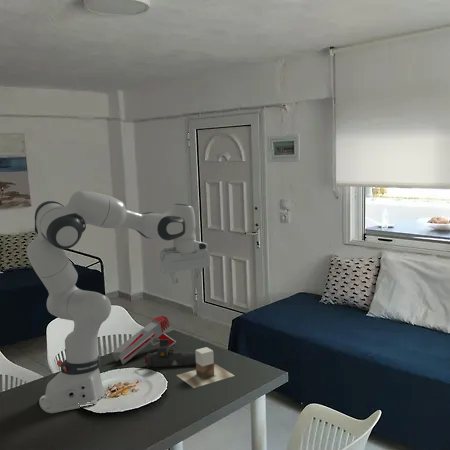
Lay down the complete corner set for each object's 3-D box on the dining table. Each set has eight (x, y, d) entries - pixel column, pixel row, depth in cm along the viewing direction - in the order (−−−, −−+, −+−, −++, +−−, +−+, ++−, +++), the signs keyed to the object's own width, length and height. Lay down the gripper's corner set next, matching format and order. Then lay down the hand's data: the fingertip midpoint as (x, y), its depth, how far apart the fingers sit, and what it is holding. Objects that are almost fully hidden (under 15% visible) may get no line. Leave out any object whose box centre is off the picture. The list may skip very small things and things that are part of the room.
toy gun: (123, 378, 222) (110, 350, 216) (170, 339, 238) (159, 312, 233) (132, 383, 217) (119, 355, 211) (179, 343, 233) (168, 316, 228)
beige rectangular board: (194, 390, 188) (193, 387, 188) (176, 377, 199) (176, 375, 199) (235, 378, 197) (234, 375, 197) (215, 366, 209) (215, 364, 209)
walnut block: (203, 379, 195) (202, 366, 194) (196, 374, 199) (196, 362, 198) (214, 375, 198) (213, 363, 197) (207, 371, 202) (207, 359, 201)
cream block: (202, 366, 194) (201, 353, 194) (195, 362, 198) (195, 349, 198) (213, 363, 197) (213, 350, 196) (207, 359, 201) (206, 347, 200)
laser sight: (200, 370, 206) (199, 346, 205) (144, 372, 206) (142, 348, 204) (201, 361, 216) (200, 338, 214) (147, 363, 215) (146, 340, 214)
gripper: (163, 250, 188) (165, 287, 190) (211, 243, 199) (212, 279, 201) (156, 248, 193) (158, 284, 195) (203, 242, 204) (204, 276, 206)
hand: (186, 281), depth 198 cm, fingers open, 8 cm apart
